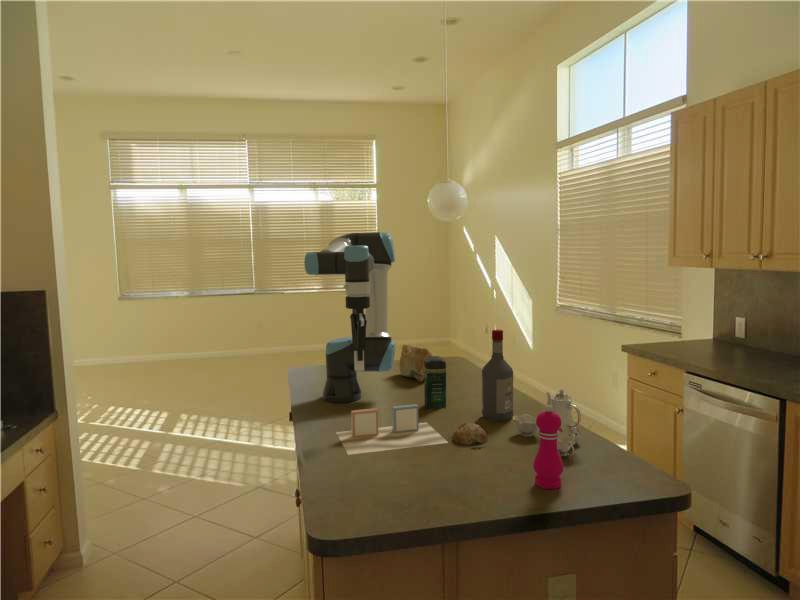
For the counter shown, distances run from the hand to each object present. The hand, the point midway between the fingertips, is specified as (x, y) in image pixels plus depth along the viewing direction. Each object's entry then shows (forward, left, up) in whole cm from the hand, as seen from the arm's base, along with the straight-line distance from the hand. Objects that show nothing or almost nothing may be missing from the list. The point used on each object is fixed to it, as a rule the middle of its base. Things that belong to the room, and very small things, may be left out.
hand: (359, 370), depth 179 cm
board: (+10, +7, -20) cm, 24 cm away
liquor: (-1, +48, -21) cm, 52 cm away
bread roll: (+19, +29, -21) cm, 40 cm away
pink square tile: (+6, 0, -19) cm, 20 cm away
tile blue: (+6, +13, -19) cm, 24 cm away
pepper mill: (+52, +36, -21) cm, 67 cm away
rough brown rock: (-63, +42, -21) cm, 78 cm away
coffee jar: (-19, +32, -21) cm, 43 cm away
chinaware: (+27, +52, -21) cm, 62 cm away
